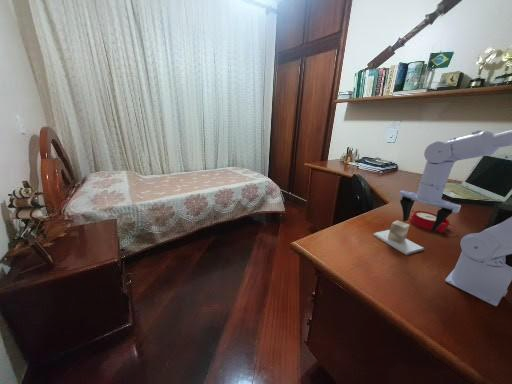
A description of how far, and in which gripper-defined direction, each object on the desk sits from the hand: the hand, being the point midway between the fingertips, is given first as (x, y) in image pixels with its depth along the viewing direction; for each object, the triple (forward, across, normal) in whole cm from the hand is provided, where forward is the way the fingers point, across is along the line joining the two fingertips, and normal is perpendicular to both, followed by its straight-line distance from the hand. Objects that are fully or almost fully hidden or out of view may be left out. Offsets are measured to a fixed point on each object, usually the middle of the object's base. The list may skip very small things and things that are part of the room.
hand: (419, 225), depth 65 cm
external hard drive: (+10, -5, +1) cm, 11 cm away
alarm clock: (+10, -3, +26) cm, 28 cm away
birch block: (+8, -5, +1) cm, 10 cm away
